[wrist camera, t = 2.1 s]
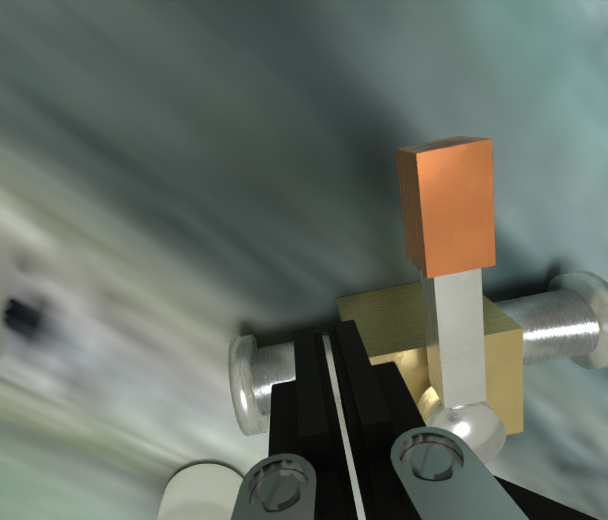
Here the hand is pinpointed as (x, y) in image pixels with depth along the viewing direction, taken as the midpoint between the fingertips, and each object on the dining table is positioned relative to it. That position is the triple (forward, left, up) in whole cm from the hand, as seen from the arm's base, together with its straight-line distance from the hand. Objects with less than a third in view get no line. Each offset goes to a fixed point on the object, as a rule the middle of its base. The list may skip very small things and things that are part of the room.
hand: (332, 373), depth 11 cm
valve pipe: (+9, +6, -17) cm, 20 cm away
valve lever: (+3, +6, -8) cm, 11 cm away
